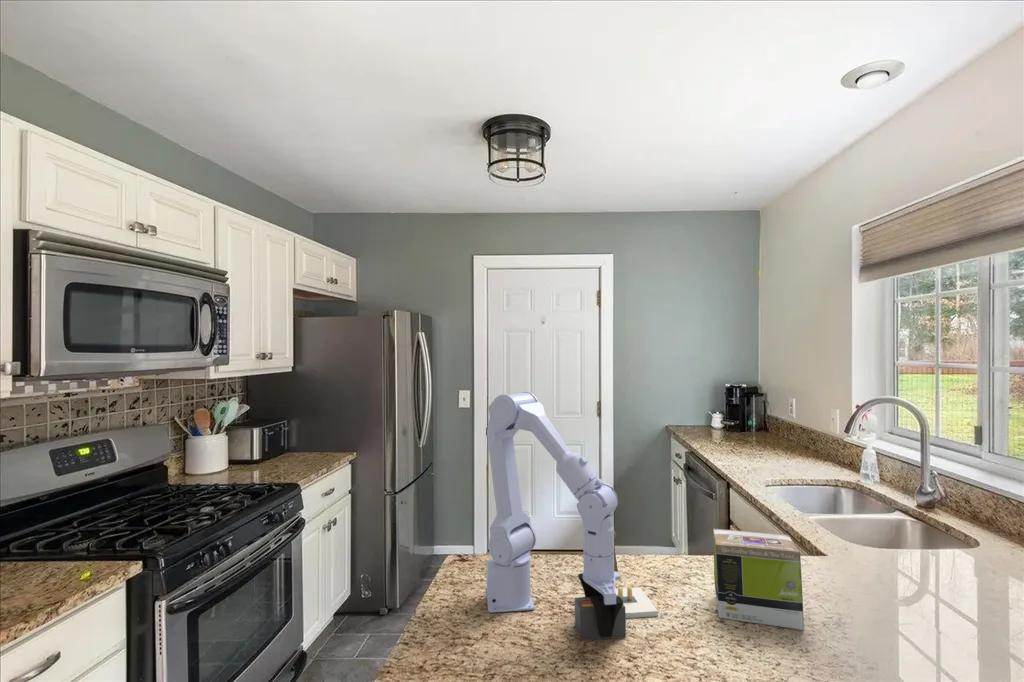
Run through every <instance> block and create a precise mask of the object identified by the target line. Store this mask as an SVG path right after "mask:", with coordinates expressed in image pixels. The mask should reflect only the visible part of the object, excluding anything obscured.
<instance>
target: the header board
mask: <svg viewBox="0 0 1024 682" xmlns="http://www.w3.org/2000/svg"><path fill="white" fill-rule="evenodd" d="M615 592H616V595H618V597H621V599H622V600H623V604H624V606H625V618H626V619H634V618H637V619H639V618H651V617H653V618H654V617H658V616H659V611H658V609H657V608H656V606H655V605H654V604H653V603H652V601H651V600H650V599H649V597H648V596H647V595H646V593H645V592H644V591H643V589H642V588H641V587H640V586H638V587H637V586H636V587H632V586H627V587H622V586H618V587H617V588H615Z"/></svg>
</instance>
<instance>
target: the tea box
mask: <svg viewBox="0 0 1024 682" xmlns="http://www.w3.org/2000/svg"><path fill="white" fill-rule="evenodd" d="M712 547H713V549H712V550H713V569H714V571H713V575H714V577H713V578H714V591H715V592H714V593H715V594H714V595H715V598H716V605H717V614H718V618H719V619H725V620H732V621H738V622H739V621H740V622H745V623H753V624H760V625H765V626H766V625H767V626H775V627H780V628H788V629H793V630H799V631H800V630H801V631H804V630H805V623H804V622H805V621H804V619H805V618H804V602H803V601H804V600H803V599H804V598H803V579H802V562H801V552H800V551H799V549H798V548H797V546H796V544H795V543H794V541H793V540H792V538H791V536H790V535H789V534H783V533H768V532H757V531H747V530H746V531H745V530H735V529H734V530H732V529H722V528H720V529H719V528H713V529H712Z"/></svg>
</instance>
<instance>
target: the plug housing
mask: <svg viewBox="0 0 1024 682" xmlns="http://www.w3.org/2000/svg"><path fill="white" fill-rule="evenodd" d="M616 597H618V595H616ZM626 621H627V618H625V606H624V604H623V605H622V607H621V609H620V610H619V612H618V614H617V617H616V620H615V624H614V629H613V633H612V636H611V637H600V634H599V631H598V625H597V618H596V613H595V610H594V607H593V604H592V602H591V600H590V597H585V596H583V597H582V596H580V597H574V628H575V630H576V633H577V635H578V637H579V639H580V641H595V640H607V639H620V638H627V633H626V632H627V626H626Z"/></svg>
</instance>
